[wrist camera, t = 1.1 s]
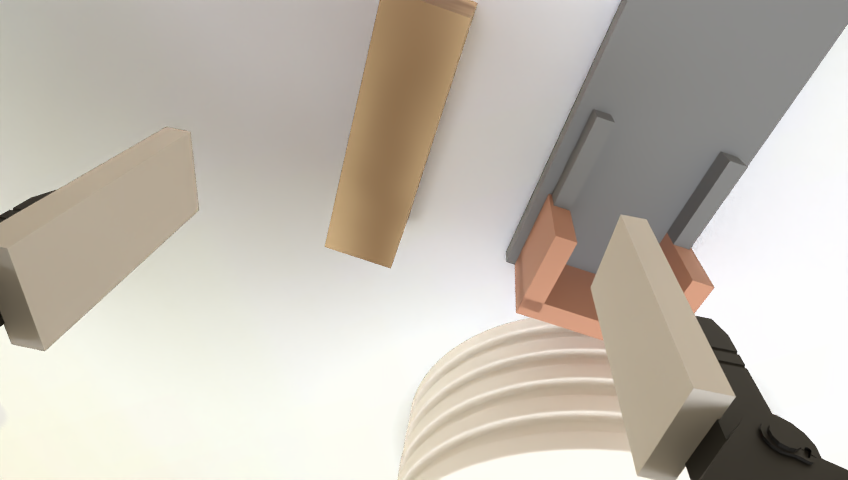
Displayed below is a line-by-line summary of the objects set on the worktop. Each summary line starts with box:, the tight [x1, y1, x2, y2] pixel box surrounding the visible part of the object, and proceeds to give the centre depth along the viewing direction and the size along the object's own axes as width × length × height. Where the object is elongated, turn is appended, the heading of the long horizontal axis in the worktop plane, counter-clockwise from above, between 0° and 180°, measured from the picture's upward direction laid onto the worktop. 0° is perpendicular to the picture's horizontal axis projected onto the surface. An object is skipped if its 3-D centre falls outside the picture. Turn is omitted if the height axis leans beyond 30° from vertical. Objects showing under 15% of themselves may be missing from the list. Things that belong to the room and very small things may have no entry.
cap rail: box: [506, 0, 848, 341], centre depth 25 cm, size 10×24×6 cm, turn 164°
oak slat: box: [325, 0, 478, 268], centre depth 28 cm, size 4×14×6 cm, turn 163°
